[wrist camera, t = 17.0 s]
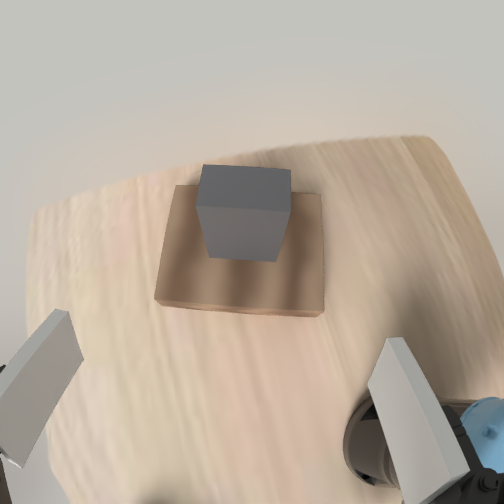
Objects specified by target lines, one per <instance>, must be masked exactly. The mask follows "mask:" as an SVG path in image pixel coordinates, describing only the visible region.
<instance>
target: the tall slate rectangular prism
mask: <svg viewBox="0 0 504 504" xmlns="http://www.w3.org/2000/svg"><path fill="white" fill-rule="evenodd" d="M196 209H197V213H198V217H199V221H200V225H201V229H202V233H203V236H204V240H205V244H206V248H207V251H208V255H209V258H221V259H236V260H251V261H266V262H276V260H277V256H278V253H279V250H280V246H281V243H282V240H283V237H284V233H285V230H286V227H287V223H288V220H289V217H290V213H291V176H290V170H286V169H274V168H261V167H246V166H228V165H203V168H202V174H201V179H200V184H199V190H198V195H197V201H196Z"/></svg>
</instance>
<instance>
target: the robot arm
mask: <svg viewBox="0 0 504 504" xmlns="http://www.w3.org/2000/svg"><path fill="white" fill-rule="evenodd" d="M83 360H84V359H83V356H82V353H81V350H80V347H79V344H78V341H77V338H76V335H75V332H74V329H73V325H72V322H71V319H70V315H69V312H68V311H63V310H58V309H55V310H54V311H53V312H52V313H51V314H50V315H49V316H48V318H47V319H46V320H45V321H44V322H43V323H42V324H41V325H40V326H39V328H38V329H37V330H36V331H35V332H34V333H33V334H32V335H31V337H30V338H29V339H28V340H27V341H26V342H25V344H24V345H23V346H22V347H21V348H20V350H19V351H18V352H17V353H16V354H15V356H14V357H13V358H12V359H11V360H10V362H9V363H8V364H7V365H3V366H1V367H0V453H2V454H3V455H4V456H5V457H6V458H7V459H8V460H9V461H10V462H12V463H14V464H15V465H17V466H18V467H20V468H23V467H24V465H25V463H26V461H27V459H28V457H29V455H30V453H31V451H32V449H33V447H34V445H35V443H36V441H37V439H38V437H39V435H40V434H41V432H42V430H43V428H44V426H45V424H46V422H47V421H48V419H49V417H50V415H51V413H52V412H53V410H54V408H55V406H56V405H57V403H58V401H59V399H60V398H61V396H62V394H63V393H64V391H65V389H66V388H67V386H68V384H69V383H70V381H71V379H72V378H73V376H74V374H75V373H76V371H77V370H78V368H79V366H80V365H81V363H82V362H83ZM367 385H368V388H369V391H370V393H371V396H369V397H368V398H367V399H366V400H365V401H364V402H363V403H362V404H361V405H360V406H359V407H358V409H357V410H356V411H355V413H354V414H353V416H352V418H351V419H350V421H349V424H348V426H347V429H346V432H345V436H344V442H343V452H344V458H345V461H346V464H347V466H348V467H349V469H350V470H351V472H352V473H353V474H354V475H356V476H357V477H358V478H359V479H361V480H362V481H363V482H365V483H367V484H370V485H373V486H377V487H394V488H398V489H400V490H401V492H402V496H403V500H402V504H504V399H500V398H498V397H487V398H482V399H480V400H461V399H441V398H440V397H438V396H437V395H435V394H434V392H433V391H432V389H431V387H430V385H429V383H428V381H427V379H426V377H425V376H424V374H423V372H422V370H421V368H420V367H419V365H418V363H417V361H416V359H415V358H414V356H413V354H412V352H411V351H410V349H409V347H408V346H407V344H406V342H405V340H404V339H403V337H392V338H387V339H386V341H385V344H384V346H383V349H382V351H381V354H380V356H379V358H378V361H377V363H376V366H375V368H374V370H373V372H372V375H371V377H370V379H369V381H368V384H367ZM0 504H12V501H11V498H10V494H9V491H8V487H7V482H6V478H5V473H4V470H3V465H2V461H1V458H0Z"/></svg>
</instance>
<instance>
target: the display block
mask: <svg viewBox="0 0 504 504" xmlns="http://www.w3.org/2000/svg"><path fill="white" fill-rule="evenodd" d="M198 190H199V186H185V185H176V187H175V191H174V195H173V200H172V204H171V209H170V213H169V218H168V223H167V228H166V233H165V238H164V243H163V249H162V254H161V260H160V265H159V271H158V277H157V284H156V290H155V297H154V299H155V300H156V301H157V302H158V303H160V304H161V305H162V306H167V307H176V308H186V309H196V310H207V311H219V312H231V313H245V314H260V315H278V316H299V317H317V316H318V315H320V314H321V313H322V312H324V259H323V232H322V212H321V196H320V195H317V194H307V193H296V192H291V213H290V217H289V220H288V223H287V227H286V230H285V233H284V237H283V240H282V243H281V246H280V250H279V253H278V256H277V260H276V262H266V261H251V260H236V259H221V258H209V255H208V251H207V248H206V244H205V240H204V236H203V233H202V229H201V225H200V221H199V217H198V213H197V209H196V201H197V195H198Z"/></svg>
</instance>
